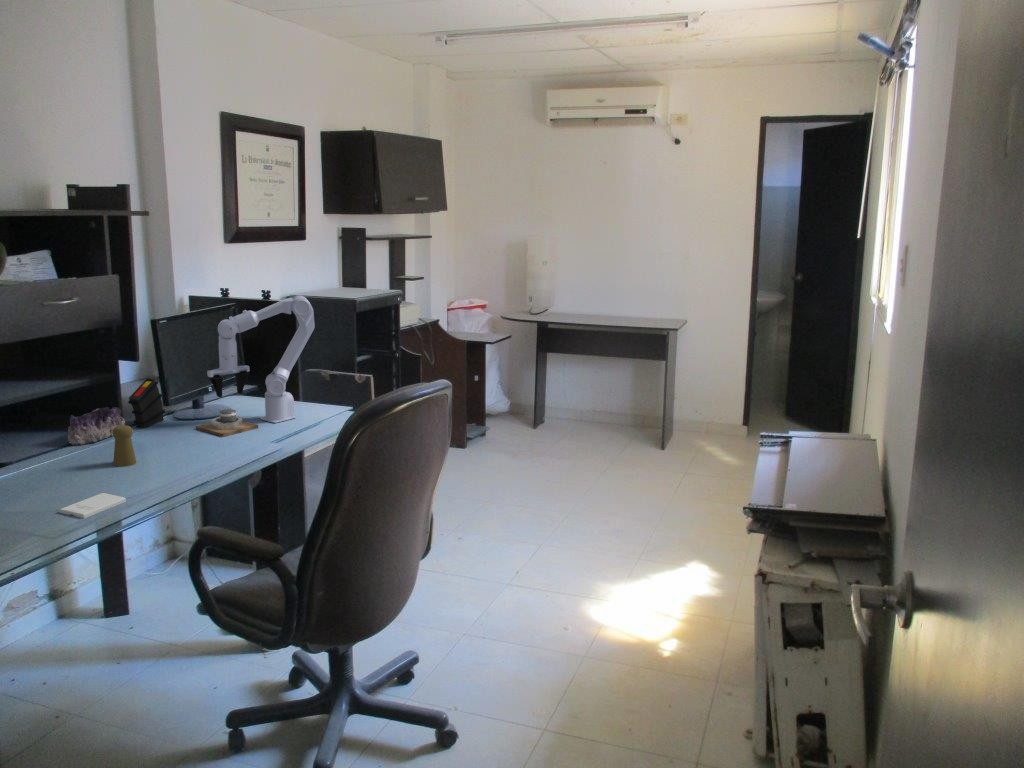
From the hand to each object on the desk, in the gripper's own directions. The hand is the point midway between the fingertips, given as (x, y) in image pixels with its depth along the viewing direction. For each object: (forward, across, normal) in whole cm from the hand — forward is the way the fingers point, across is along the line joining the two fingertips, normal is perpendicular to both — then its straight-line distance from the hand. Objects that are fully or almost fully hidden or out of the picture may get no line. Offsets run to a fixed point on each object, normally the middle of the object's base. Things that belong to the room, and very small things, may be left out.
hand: (229, 395), depth 279 cm
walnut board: (+9, -5, -7) cm, 13 cm away
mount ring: (+9, -5, -7) cm, 13 cm away
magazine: (+10, -22, +14) cm, 28 cm away
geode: (+10, -40, +11) cm, 43 cm away
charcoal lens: (+8, -5, -7) cm, 12 cm away
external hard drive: (+10, -65, -47) cm, 81 cm away
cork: (+10, -45, -20) cm, 50 cm away
